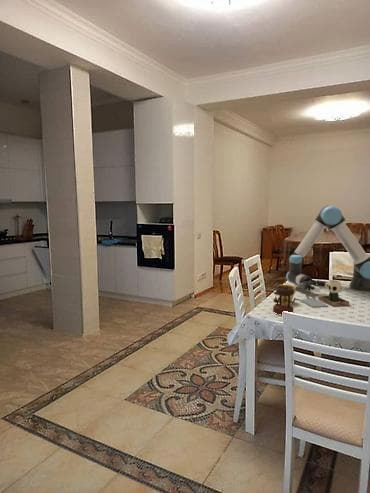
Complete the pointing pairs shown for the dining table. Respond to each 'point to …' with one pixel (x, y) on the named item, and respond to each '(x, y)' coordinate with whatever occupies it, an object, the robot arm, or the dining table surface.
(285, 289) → the music box
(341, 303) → the brown rectangular slab
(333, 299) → the character mug
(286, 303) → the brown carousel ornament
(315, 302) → the slate coaster
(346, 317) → the dining table surface
